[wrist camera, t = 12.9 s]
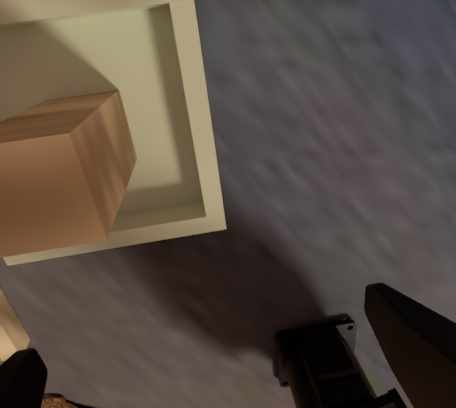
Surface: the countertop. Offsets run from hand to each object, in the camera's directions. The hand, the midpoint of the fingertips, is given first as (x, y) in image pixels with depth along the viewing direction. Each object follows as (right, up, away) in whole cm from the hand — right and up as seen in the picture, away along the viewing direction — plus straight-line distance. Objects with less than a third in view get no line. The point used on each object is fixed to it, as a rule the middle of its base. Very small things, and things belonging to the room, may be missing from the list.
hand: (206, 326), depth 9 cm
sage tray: (-6, +7, +9) cm, 13 cm away
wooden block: (-6, +7, +8) cm, 12 cm away
